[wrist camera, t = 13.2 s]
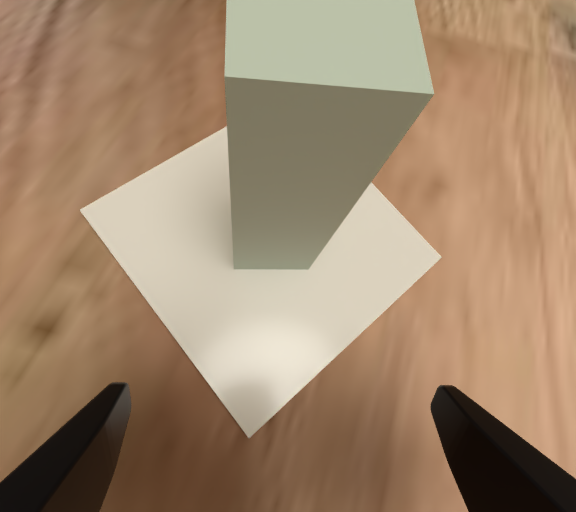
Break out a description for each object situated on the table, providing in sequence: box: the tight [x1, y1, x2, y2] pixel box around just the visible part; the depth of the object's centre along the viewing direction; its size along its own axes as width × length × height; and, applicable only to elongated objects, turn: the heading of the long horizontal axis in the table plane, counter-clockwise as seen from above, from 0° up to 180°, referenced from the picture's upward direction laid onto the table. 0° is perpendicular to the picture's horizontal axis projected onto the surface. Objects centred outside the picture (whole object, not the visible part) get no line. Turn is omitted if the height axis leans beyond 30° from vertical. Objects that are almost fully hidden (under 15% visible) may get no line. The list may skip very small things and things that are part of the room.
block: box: [225, 0, 434, 270], centre depth 14 cm, size 4×4×14 cm
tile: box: [80, 126, 442, 438], centre depth 21 cm, size 16×16×1 cm
